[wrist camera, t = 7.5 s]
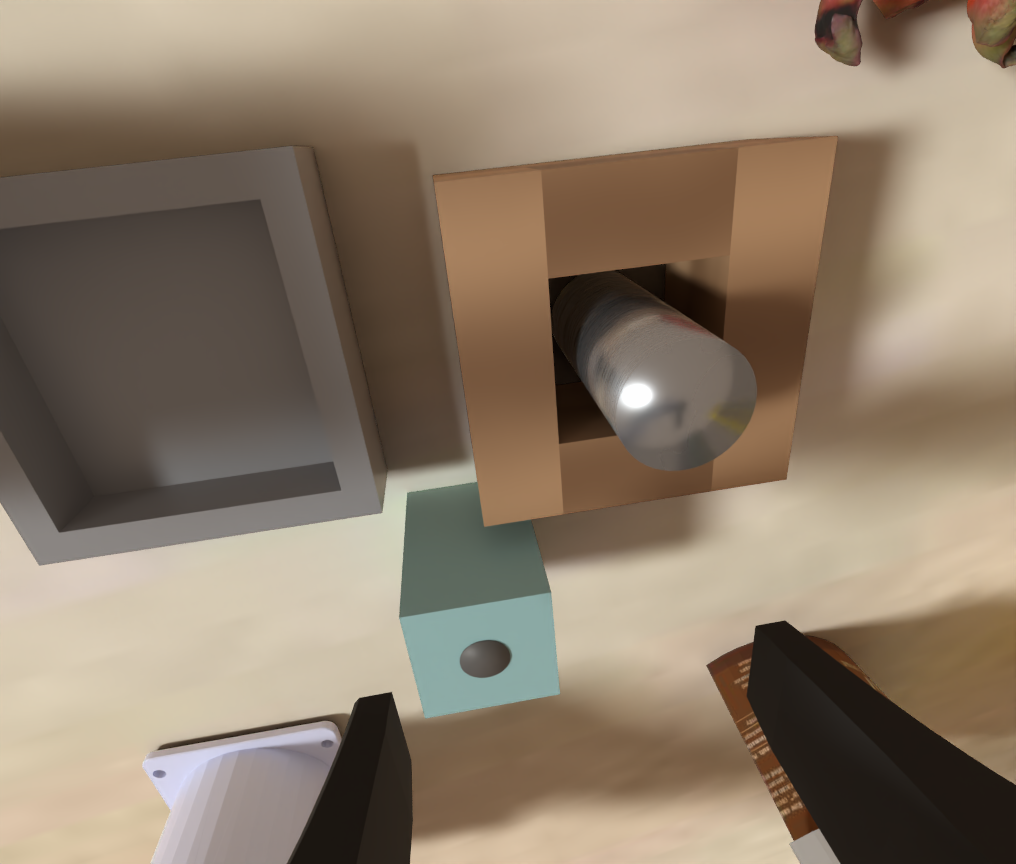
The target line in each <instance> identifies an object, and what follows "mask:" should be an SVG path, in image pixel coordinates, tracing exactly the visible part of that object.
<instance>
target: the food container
mask: <svg viewBox="0 0 1016 864" xmlns="http://www.w3.org/2000/svg"><path fill="white" fill-rule="evenodd" d="M806 637H807V638H808V639H810V640H811V641H812V642H814V643H815V644H816V645H817V646H819V647H820V648H821V649H823V650H824V651H825V652H827V653H828V654H829V655H830V656H832V657H833V658H834V659H836V660H837V661H838V662H839V663H841V664H842V665H843V666H845V667H846V668H847V669H849V670H850V671H851V672H853V673H854V674H855V675H856V676H858V677H859V678H860V679H862V680H863V681H864V682H866V683H867V684H868V685H870V686H871V687H872V688H874V689H875V690H876V691H878V692H879V693H880V694H882V695H883V696H885V695H884V693H883V692H882V691H881V690H880V689H879V688H878V687H877V686H876V685H875V684H874V683H873V682H872V681H871V680H870V679H869V678H868V677H867V676H866V675H865V674H864V672H863V671H862V670H861V669H860V668H859V667H858V666H857V665H856V664H855V663H854V662H853V661H852V660H851V659H850V658H849V657H848V656H847V655H846V654H845V653H844V651H842V650H841V649H840V648H839V647H838V646H836V645H835V644H833V643H831V642H829V641H827V640H824V639H821V638H817V637H813V636H806ZM753 643H754V642H752V643H750V644H747V645H744V646H742V647H739V648H736V649H734V650H732V651H730V652H728V653H726V654H724V655H722V656H721V657H719V658H717V659H716V660H714V661H713V662H711V663H710V664H708V665H706V666H707V668H708V670H709V672H710V674H711V676H712V678H713V680H714V682H715V684H716V686H717V688H718V690H719V692H720V694H721V696H722V698H723V700H724V702H725V704H726V706H727V708H728V710H729V712H730V714H731V716H732V718H733V720H734V722H735V724H736V726H737V728H738V730H739V732H740V734H741V736H742V738H743V740H744V742H745V744H746V746H747V748H748V750H749V752H750V754H751V756H752V758H753V760H754V762H755V764H756V766H757V768H758V770H759V772H760V774H761V776H762V778H763V780H764V782H765V784H766V786H767V788H768V790H769V792H770V794H771V796H772V798H773V800H774V802H775V804H776V806H777V808H778V810H779V812H780V814H781V816H782V818H783V820H784V822H785V824H786V826H787V828H788V830H789V832H790V834H791V836H792V838H793V840H794V841H793V842H791V843H790V844H789V845H790V846H791V848H792V850H793V852H794V853H795V855H796V857H797V859H798V860H799V862H800V864H840V862H839V861H838V859H837V857H836V856H835V854H834V852H833V851H832V849H831V848H830V846H829V844H828V843H827V841H826V839H825V838H824V836H823V834H822V833H821V831H820V830H819V828H818V826H817V825H816V823H815V821H814V820H813V818H812V816H811V815H810V813H809V811H808V810H807V808H806V807H805V805H804V803H803V802H802V800H801V798H800V797H799V795H798V793H797V792H796V790H795V788H794V787H793V785H792V783H791V782H790V780H789V778H788V777H787V775H786V773H785V772H784V770H783V768H782V767H781V765H780V763H779V762H778V760H777V758H776V757H775V755H774V753H773V752H772V750H771V748H770V746H769V744H768V742H767V740H766V737H765V735H764V733H763V731H762V729H761V727H760V725H759V723H758V721H757V718H756V716H755V714H754V712H753V710H752V707H751V705H750V703H749V701H748V699H747V688H748V681H749V673H750V666H751V658H752V650H753ZM885 697H886V696H885ZM886 698H887V697H886ZM887 699H888V698H887Z"/></svg>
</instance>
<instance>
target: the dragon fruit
mask: <svg viewBox="0 0 1016 864" xmlns="http://www.w3.org/2000/svg"><path fill="white" fill-rule="evenodd" d="M873 1H874V3H875V4H876V5H877V7H878V8H879V10H880V11H881V13H882V14H883V16H884V17H885V18H886V19H889V18H891V17H894V16H896V15H897V14H899V13H901V12H903V11H904V10H906V9H910V8H915V7H918V6H919V5H921V4H923V3H924V2H926V1H928V0H873ZM861 2H862V0H821V2H820V5H819V9H818V15H817V20H816V24H815V41H816V43H817V45H818V46H819V48H820V49H821V50H823V51H824V52H826V53H828V54H830V55H831V57H832V58H833V59H835V60H836V61H838V62H842V63H844V64H846V65H849V66H858V65H859V64H860V62H861V60H860V57H861V47H862V40H861V35H860V32H859V29H858V25H857V14H858V10H859V7H860V5H861ZM967 14H968V17H969V18H970V21H971V22H972V39H973V43H974V46H975V48H976V49H977V51H978V52H979V53H980V55H982V56H983V57H984V58H986V59H988V60H990V61H992V62H994V63H997V64H999V65H1000V66H1001V67H1002V68H1006V67H1008V66H1012V65H1016V45H1013V43H1014V40H1015V38H1016V0H968V2H967ZM1012 45H1013V46H1012Z"/></svg>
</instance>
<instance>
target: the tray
mask: <svg viewBox="0 0 1016 864" xmlns="http://www.w3.org/2000/svg"><path fill="white" fill-rule="evenodd" d="M387 472H388V471H387V467H386V462H385V458H384V454H383V449H382V445H381V441H380V436H379V432H378V428H377V423H376V419H375V415H374V410H373V406H372V402H371V397H370V393H369V389H368V384H367V380H366V375H365V371H364V367H363V362H362V358H361V354H360V349H359V345H358V341H357V336H356V332H355V328H354V323H353V319H352V315H351V310H350V306H349V301H348V297H347V293H346V288H345V284H344V280H343V275H342V271H341V267H340V262H339V258H338V254H337V249H336V245H335V241H334V236H333V232H332V228H331V223H330V219H329V214H328V210H327V206H326V201H325V197H324V193H323V188H322V184H321V180H320V175H319V171H318V167H317V162H316V158H315V154H314V149H313V147H309V146H286V147H276V148H267V149H258V150H249V151H240V152H230V153H221V154H212V155H203V156H194V157H184V158H175V159H166V160H157V161H147V162H138V163H129V164H120V165H111V166H101V167H92V168H83V169H74V170H65V171H55V172H46V173H37V174H28V175H19V176H9V177H0V503H1V504H2V506H3V508H4V509H5V511H6V512H7V514H8V516H9V517H10V519H11V521H12V522H13V524H14V525H15V527H16V529H17V530H18V532H19V534H20V535H21V537H22V538H23V540H24V542H25V543H26V545H27V547H28V548H29V550H30V551H31V553H32V555H33V556H34V558H35V560H36V561H37V563H38V564H39V566H40V565H46V564H53V563H59V562H66V561H72V560H79V559H85V558H92V557H98V556H105V555H111V554H118V553H125V552H131V551H138V550H144V549H151V548H157V547H164V546H170V545H177V544H183V543H190V542H196V541H203V540H209V539H216V538H222V537H229V536H235V535H242V534H248V533H255V532H261V531H268V530H274V529H281V528H287V527H294V526H300V525H307V524H313V523H320V522H326V521H333V520H339V519H346V518H352V517H359V516H365V515H372V514H378V513H382V511H383V503H384V495H385V487H386V480H387Z"/></svg>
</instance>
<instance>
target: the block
mask: <svg viewBox="0 0 1016 864" xmlns="http://www.w3.org/2000/svg"><path fill="white" fill-rule="evenodd" d="M399 619H400V623H401V627H402V630H403V634H404V638H405V642H406V646H407V650H408V654H409V658H410V661H411V665H412V669H413V673H414V677H415V681H416V685H417V689H418V692H419V696H420V700H421V704H422V708H423V712H424V716H425V718H431V717H436V716H442V715H447V714H453V713H458V712H464V711H470V710H475V709H481V708H486V707H492V706H497V705H503V704H508V703H514V702H520V701H525V700H531V699H536V698H542V697H547V696H553V695H558V694H560V689H559V678H558V666H557V655H556V643H555V632H554V620H553V608H552V597H551V590H550V587H549V583H548V579H547V576H546V572H545V568H544V565H543V561H542V558H541V554H540V550H539V547H538V543H537V540H536V536H535V532H534V529H533V525H532V521H531V520H524V521H518V522H512V523H505V524H499V525H493V526H486V527H484V523H483V516H482V509H481V502H480V495H479V489H478V482H475V483H468V484H462V485H455V486H449V487H442V488H436V489H429V490H422V491H416V492H409V493H407V505H406V520H405V536H404V552H403V567H402V583H401V599H400V614H399Z"/></svg>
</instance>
